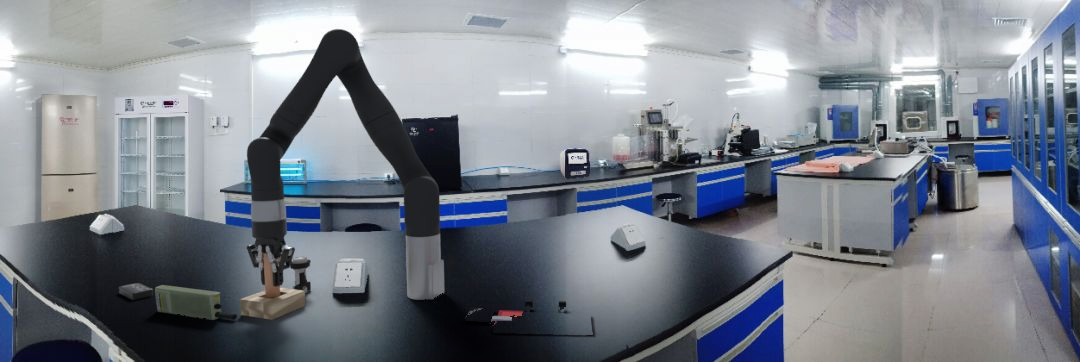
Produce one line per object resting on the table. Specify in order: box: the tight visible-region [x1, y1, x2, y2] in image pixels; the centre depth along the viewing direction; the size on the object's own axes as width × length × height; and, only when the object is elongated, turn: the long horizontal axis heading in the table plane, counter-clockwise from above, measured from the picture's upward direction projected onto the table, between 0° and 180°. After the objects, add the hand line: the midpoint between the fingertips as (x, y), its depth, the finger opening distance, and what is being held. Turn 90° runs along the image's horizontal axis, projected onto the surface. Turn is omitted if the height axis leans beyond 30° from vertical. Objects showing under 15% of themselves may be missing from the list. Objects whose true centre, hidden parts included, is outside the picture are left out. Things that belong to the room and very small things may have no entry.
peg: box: [263, 253, 281, 299], centre depth 116 cm, size 3×3×12 cm
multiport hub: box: [118, 282, 154, 301], centre depth 129 cm, size 4×11×2 cm, turn 58°
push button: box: [289, 256, 312, 294], centre depth 129 cm, size 7×5×10 cm
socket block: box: [239, 287, 306, 320], centre depth 117 cm, size 10×10×4 cm
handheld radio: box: [154, 284, 238, 321], centre depth 114 cm, size 7×3×25 cm
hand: (272, 284), depth 116 cm, fingers closed on peg, 3 cm apart
